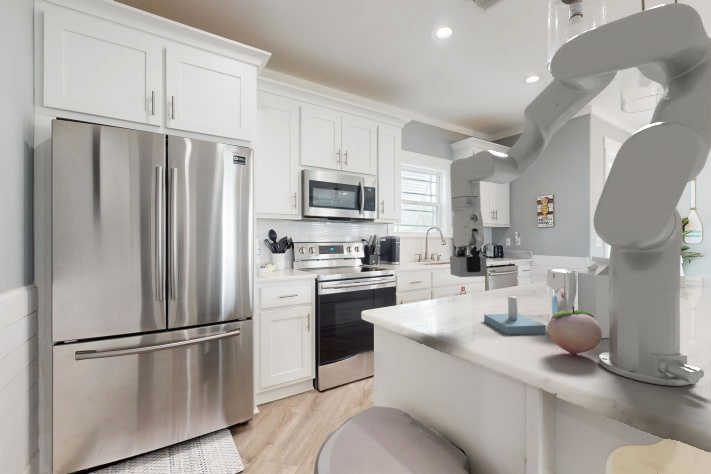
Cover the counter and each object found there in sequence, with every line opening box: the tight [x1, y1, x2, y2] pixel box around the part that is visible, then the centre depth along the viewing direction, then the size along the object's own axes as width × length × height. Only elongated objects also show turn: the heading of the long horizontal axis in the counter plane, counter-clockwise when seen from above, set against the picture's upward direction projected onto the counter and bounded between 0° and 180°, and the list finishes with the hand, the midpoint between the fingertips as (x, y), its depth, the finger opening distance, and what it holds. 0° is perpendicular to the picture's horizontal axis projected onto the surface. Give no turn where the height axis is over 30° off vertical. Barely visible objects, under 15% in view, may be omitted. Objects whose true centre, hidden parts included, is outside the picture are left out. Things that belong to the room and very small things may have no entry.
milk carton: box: [577, 256, 610, 339], centre depth 78 cm, size 7×7×19 cm
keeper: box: [483, 296, 547, 335], centre depth 84 cm, size 12×10×8 cm
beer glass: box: [546, 269, 578, 322], centre depth 84 cm, size 7×7×15 cm
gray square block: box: [449, 255, 488, 278], centre depth 85 cm, size 7×7×5 cm
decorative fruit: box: [547, 306, 602, 356], centre depth 64 cm, size 9×8×10 cm
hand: (467, 270), depth 85 cm, fingers closed on gray square block, 7 cm apart
